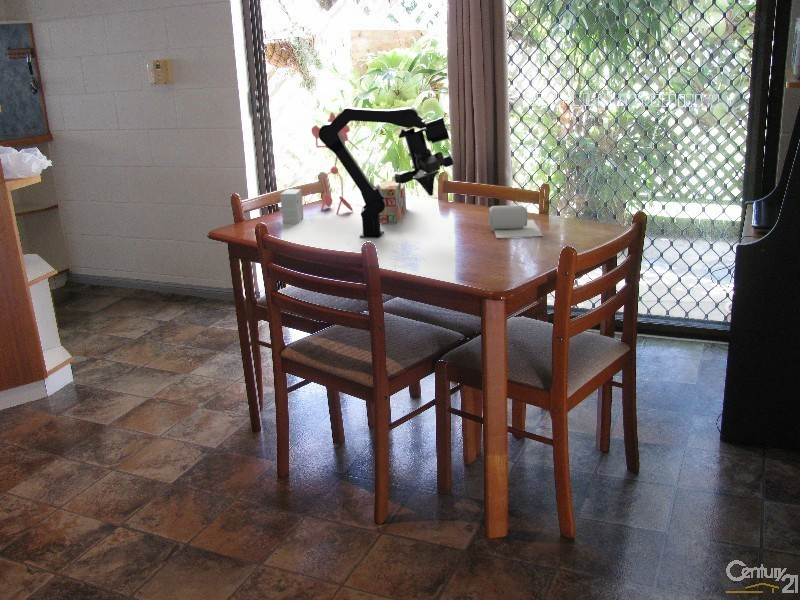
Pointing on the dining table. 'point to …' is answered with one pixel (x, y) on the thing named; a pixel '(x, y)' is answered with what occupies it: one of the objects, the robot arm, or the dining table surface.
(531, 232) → the mat
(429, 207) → the dining table surface
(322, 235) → the dining table surface
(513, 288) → the dining table surface
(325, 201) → the figurine
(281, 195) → the small box
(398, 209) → the stack of blocks
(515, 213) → the can
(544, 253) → the dining table surface
